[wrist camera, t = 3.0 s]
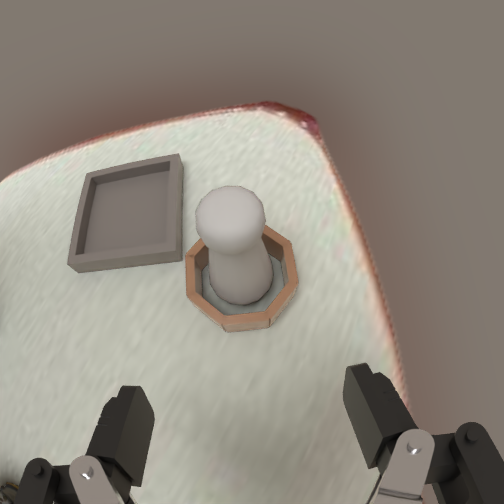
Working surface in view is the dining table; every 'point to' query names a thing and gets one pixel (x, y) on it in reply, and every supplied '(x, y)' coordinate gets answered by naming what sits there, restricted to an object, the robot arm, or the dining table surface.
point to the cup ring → (248, 321)
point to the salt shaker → (235, 244)
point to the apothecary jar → (8, 493)
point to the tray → (129, 216)
